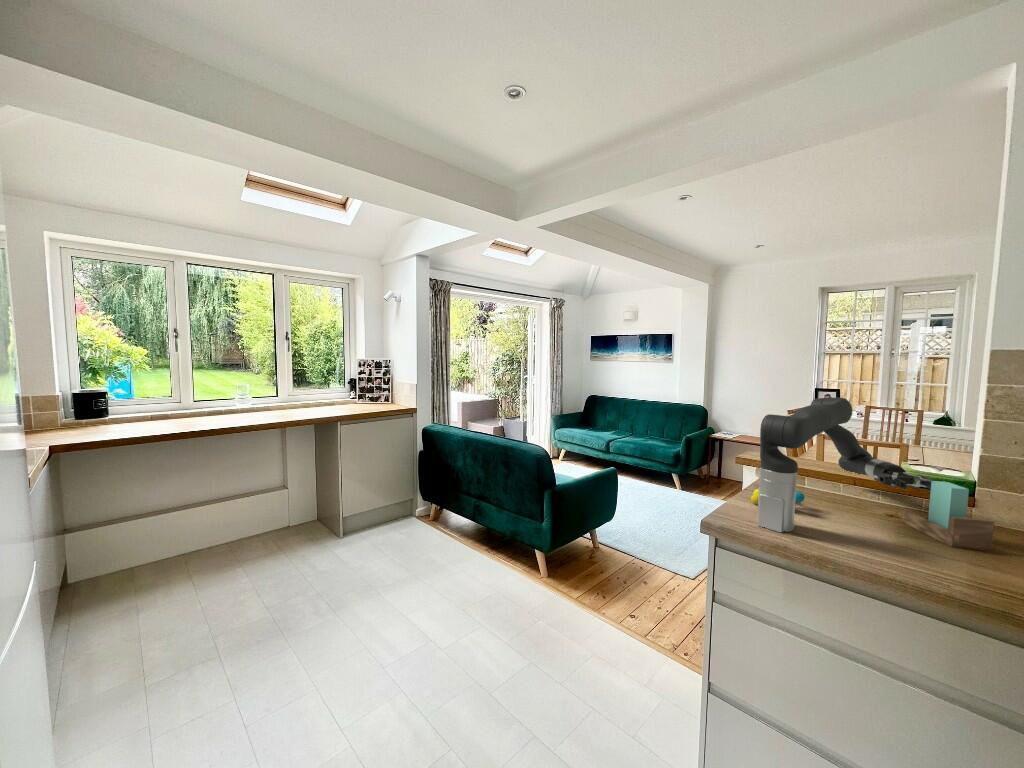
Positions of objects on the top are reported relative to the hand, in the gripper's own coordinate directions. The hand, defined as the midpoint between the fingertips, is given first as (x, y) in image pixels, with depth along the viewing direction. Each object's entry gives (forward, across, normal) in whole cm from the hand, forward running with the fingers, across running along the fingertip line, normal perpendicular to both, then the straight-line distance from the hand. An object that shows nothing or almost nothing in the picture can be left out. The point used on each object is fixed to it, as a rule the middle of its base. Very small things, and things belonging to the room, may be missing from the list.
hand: (921, 486), depth 127 cm
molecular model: (-7, -38, +11) cm, 40 cm away
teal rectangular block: (+10, 0, +10) cm, 15 cm away
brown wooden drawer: (+9, 0, +11) cm, 15 cm away
